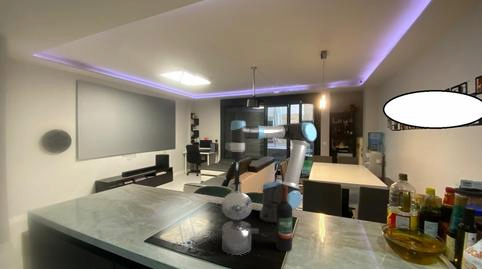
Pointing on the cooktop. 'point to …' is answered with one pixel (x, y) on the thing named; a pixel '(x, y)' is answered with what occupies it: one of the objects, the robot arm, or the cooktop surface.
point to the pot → (236, 237)
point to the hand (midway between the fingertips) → (236, 196)
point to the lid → (236, 206)
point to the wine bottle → (284, 223)
